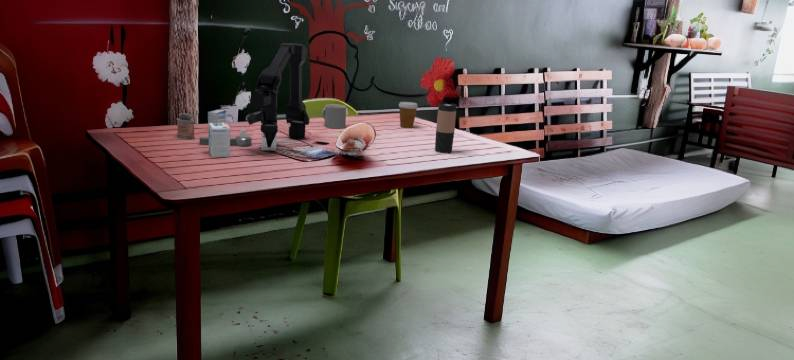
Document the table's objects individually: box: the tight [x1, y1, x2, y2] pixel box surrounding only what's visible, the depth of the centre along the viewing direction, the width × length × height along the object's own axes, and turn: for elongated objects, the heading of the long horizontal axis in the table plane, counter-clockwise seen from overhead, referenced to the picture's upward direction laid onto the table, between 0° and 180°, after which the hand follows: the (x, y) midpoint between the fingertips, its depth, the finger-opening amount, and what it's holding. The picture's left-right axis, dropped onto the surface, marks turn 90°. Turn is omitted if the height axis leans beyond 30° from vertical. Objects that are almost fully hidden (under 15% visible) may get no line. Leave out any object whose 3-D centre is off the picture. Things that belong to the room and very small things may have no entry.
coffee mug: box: [321, 103, 347, 130], centre depth 288 cm, size 13×10×10 cm
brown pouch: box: [176, 112, 196, 140], centre depth 243 cm, size 8×3×10 cm, turn 68°
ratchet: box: [198, 129, 253, 148], centre depth 237 cm, size 20×6×6 cm, turn 102°
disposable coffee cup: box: [398, 101, 419, 129], centre depth 298 cm, size 10×10×12 cm
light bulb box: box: [208, 122, 231, 158], centre depth 222 cm, size 11×7×11 cm, turn 23°
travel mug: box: [434, 102, 458, 154], centre depth 251 cm, size 8×8×20 cm
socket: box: [261, 133, 278, 151], centre depth 233 cm, size 6×6×5 cm
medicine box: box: [207, 109, 227, 131], centre depth 260 cm, size 8×4×9 cm, turn 168°
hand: (268, 145), depth 234 cm, fingers closed on socket, 6 cm apart
